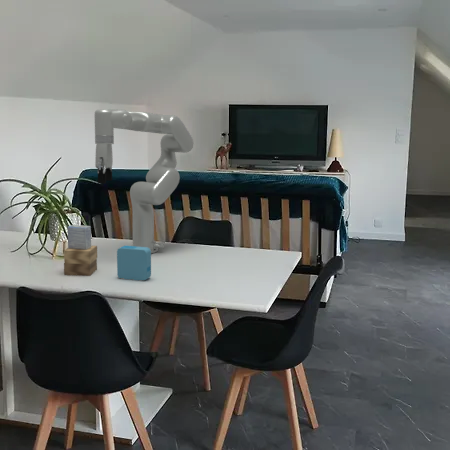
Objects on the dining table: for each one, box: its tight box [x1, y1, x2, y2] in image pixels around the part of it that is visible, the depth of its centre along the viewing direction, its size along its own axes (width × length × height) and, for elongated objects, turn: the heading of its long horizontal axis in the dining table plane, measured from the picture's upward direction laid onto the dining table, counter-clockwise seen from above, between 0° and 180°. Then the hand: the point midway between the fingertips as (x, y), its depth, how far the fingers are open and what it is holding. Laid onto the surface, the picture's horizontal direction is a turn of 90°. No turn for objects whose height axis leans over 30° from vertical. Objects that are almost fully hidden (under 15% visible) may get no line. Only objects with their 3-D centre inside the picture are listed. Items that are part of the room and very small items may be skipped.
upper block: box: [63, 245, 98, 264], centre depth 231 cm, size 10×10×5 cm
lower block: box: [63, 258, 98, 277], centre depth 232 cm, size 10×10×5 cm
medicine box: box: [66, 224, 92, 250], centre depth 230 cm, size 8×4×9 cm, turn 75°
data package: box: [116, 245, 152, 281], centre depth 224 cm, size 12×4×12 cm, turn 75°
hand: (105, 181), depth 247 cm, fingers open, 9 cm apart
